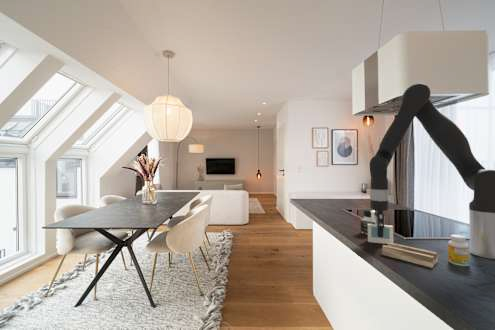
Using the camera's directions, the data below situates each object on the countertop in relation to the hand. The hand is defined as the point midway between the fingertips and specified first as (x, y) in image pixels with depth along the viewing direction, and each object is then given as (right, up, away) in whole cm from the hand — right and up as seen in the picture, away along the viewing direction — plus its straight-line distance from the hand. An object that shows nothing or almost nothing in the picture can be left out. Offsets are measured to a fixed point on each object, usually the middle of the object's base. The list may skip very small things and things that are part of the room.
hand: (379, 234), depth 106 cm
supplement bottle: (+15, -4, -23) cm, 28 cm away
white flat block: (0, -4, 0) cm, 4 cm away
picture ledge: (+1, -4, -18) cm, 18 cm away
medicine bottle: (+4, -4, +15) cm, 16 cm away
